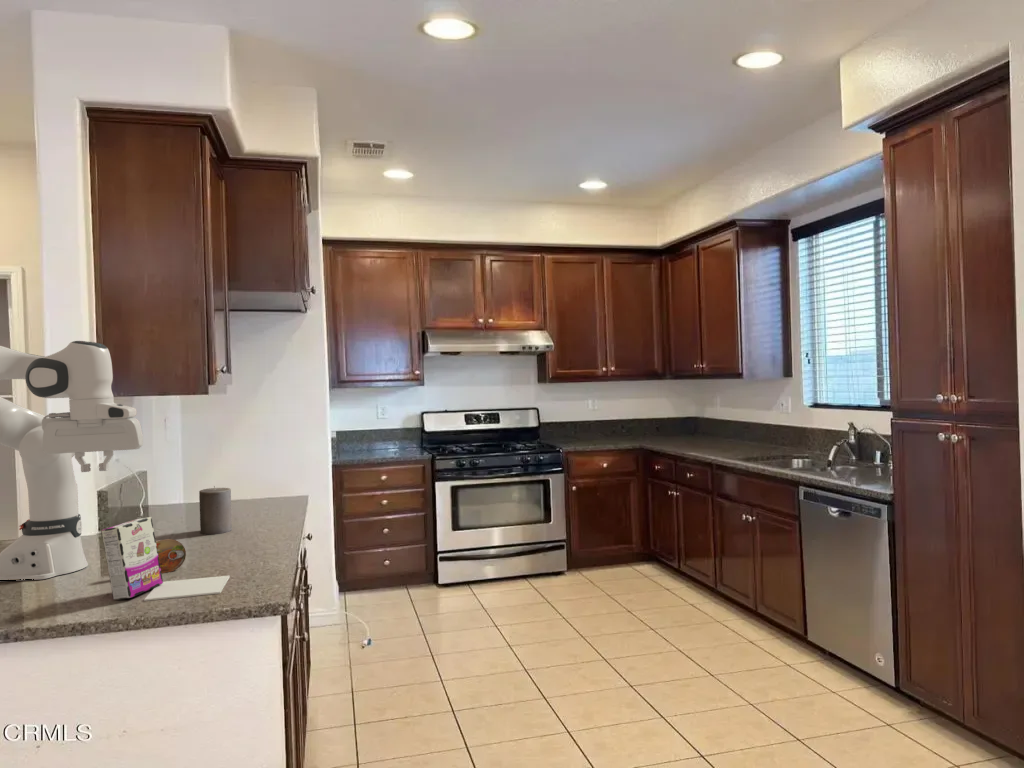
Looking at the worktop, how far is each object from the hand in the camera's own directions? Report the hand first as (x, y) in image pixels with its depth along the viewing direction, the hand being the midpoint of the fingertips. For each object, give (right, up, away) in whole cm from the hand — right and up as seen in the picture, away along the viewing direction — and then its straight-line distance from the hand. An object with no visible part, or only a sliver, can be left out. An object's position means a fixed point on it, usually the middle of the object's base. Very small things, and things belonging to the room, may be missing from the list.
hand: (94, 471), depth 163 cm
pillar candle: (-1, -28, +69) cm, 74 cm away
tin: (+4, -29, +19) cm, 35 cm away
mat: (+20, -28, +5) cm, 35 cm away
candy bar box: (+9, -29, +2) cm, 30 cm away
